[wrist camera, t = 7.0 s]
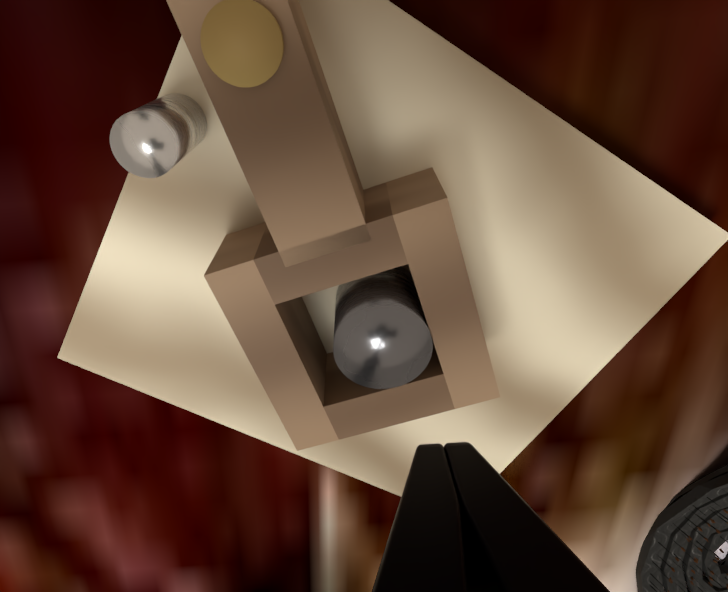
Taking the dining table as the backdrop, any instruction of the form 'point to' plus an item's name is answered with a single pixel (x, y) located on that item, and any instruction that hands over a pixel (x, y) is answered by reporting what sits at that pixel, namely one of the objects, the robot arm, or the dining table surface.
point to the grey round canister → (381, 330)
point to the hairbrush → (688, 540)
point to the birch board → (477, 241)
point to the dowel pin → (158, 135)
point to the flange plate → (322, 231)
